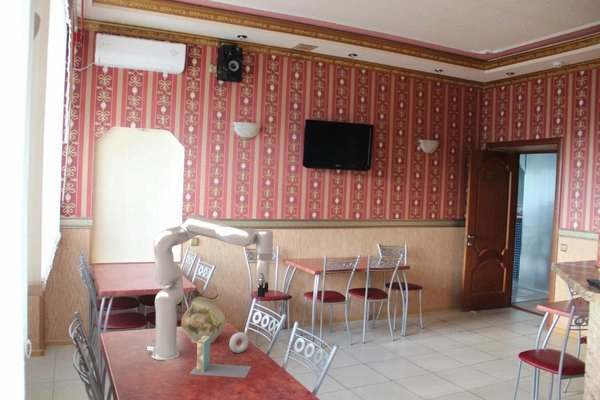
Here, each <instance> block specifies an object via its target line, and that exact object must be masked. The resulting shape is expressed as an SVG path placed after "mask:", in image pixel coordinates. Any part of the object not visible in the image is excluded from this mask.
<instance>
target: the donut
mask: <svg viewBox="0 0 600 400" xmlns="http://www.w3.org/2000/svg"><path fill="white" fill-rule="evenodd" d="M239 340H241V343H240V345H237V342H238V341H239ZM249 343H250V340H249V337H248V335H247V334H246V333H244V332H241V331H240V332H239V331H238V332H235V333H234V334H232V336H230V339H229V343H228V345H229V346H228V347H229V348H230V350H231V351H232V352H233V353H236V354H240V353H243V352H244V351H246V349H247V348H248V346H249Z"/></svg>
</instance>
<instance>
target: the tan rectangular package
mask: <svg viewBox="0 0 600 400" xmlns="http://www.w3.org/2000/svg"><path fill="white" fill-rule="evenodd" d="M196 347H197V348H196V351H197V352H196V365H197V372H204V371H205V370H206V369H207V368H208V366H209V363H210V357H211V356H210V355H211V352H210V351H211V350H210V349H211V343H210V336H203V337H202V338H201V339H200V340H199V341H198V342H197V344H196Z"/></svg>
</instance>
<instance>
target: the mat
mask: <svg viewBox="0 0 600 400" xmlns="http://www.w3.org/2000/svg"><path fill="white" fill-rule="evenodd" d="M252 367H253V366H251V365H238V364H234V365H233V364H223V363H211V362H209V366H208V368H207V369H206V370H205V371H204V372H197V364H196V365H195V366H194V367H193V369H191V371H189V375H200V376H201V375H203V376H214V377H215V376H216V377H231V378H233V377H234V378H244V379H246V378H247V376H248V374H249V373H250V371H251V369H252Z"/></svg>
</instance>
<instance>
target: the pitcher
mask: <svg viewBox="0 0 600 400" xmlns="http://www.w3.org/2000/svg"><path fill="white" fill-rule="evenodd" d="M219 296H220V293H218V294H217V295H215V296H213V297H208V296H204V295H202V293H201V292H200V291H199V290H197V289H194V290H192V292H191V294H190V305H189V306H188V307H187V310H186V311H185V312H184V313H183V315H182V317H181V322H180V323H181V325H180V326H181V328H182V331H183V332H184V335H186V337H188V338H189V339H190V342H191V343H193V344H196V345H197V342H198V341H199V340H200V339H201V338H202V337H203V336H210V344H212V343H215V342H216V339H217V338H218V336H220V335H221V333H222V332H223V330H224V329H225V326H226V317H225V315H224V313H223V311H222V310H221V309H220V308H219V307H218V306H217V304H216V301H217V299H218V298H219Z"/></svg>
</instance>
